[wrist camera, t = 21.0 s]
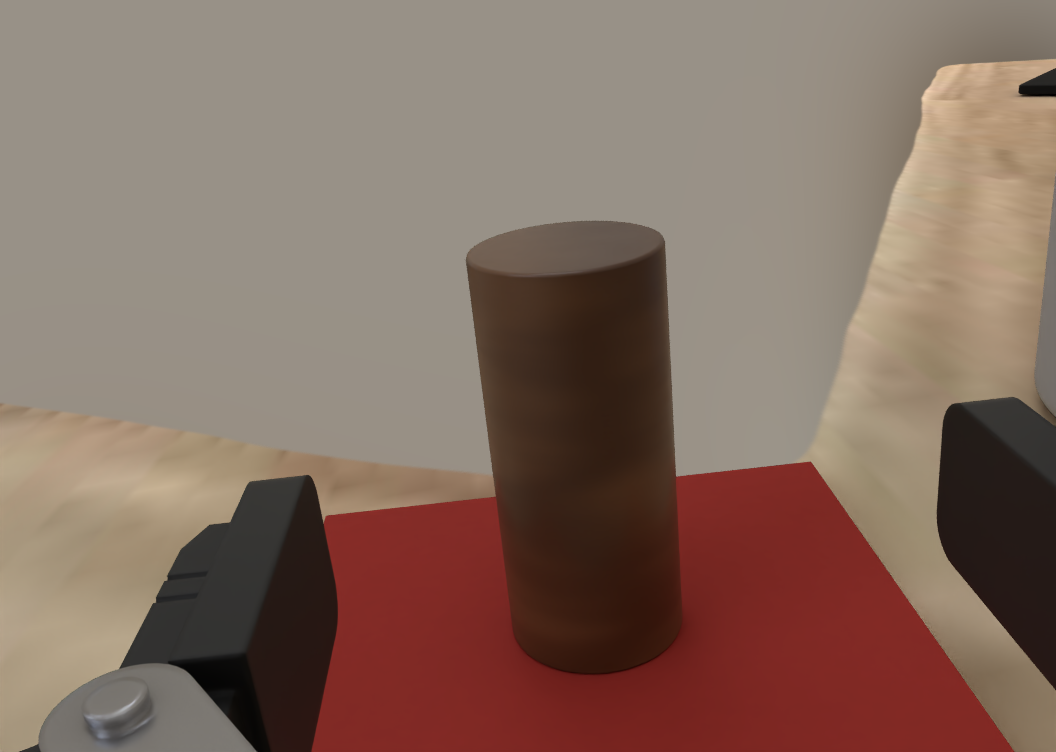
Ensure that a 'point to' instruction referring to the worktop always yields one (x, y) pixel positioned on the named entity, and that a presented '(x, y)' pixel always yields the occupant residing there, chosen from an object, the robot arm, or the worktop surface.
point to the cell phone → (1040, 84)
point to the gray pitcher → (1048, 325)
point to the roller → (581, 438)
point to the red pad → (665, 681)
